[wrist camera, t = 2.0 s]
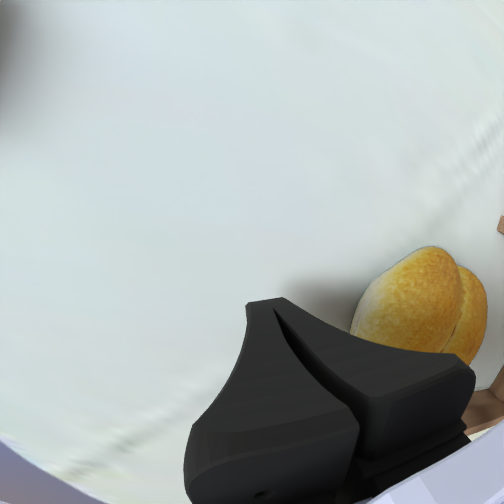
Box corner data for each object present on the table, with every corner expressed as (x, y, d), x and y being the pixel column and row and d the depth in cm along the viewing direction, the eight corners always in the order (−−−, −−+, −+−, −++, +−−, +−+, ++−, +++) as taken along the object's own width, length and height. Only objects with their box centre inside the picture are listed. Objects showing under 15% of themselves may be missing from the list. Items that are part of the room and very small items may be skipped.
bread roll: (395, 218, 14) (451, 245, 10) (478, 281, 16) (520, 308, 13) (309, 360, 16) (338, 414, 12) (410, 384, 18) (441, 422, 15)
